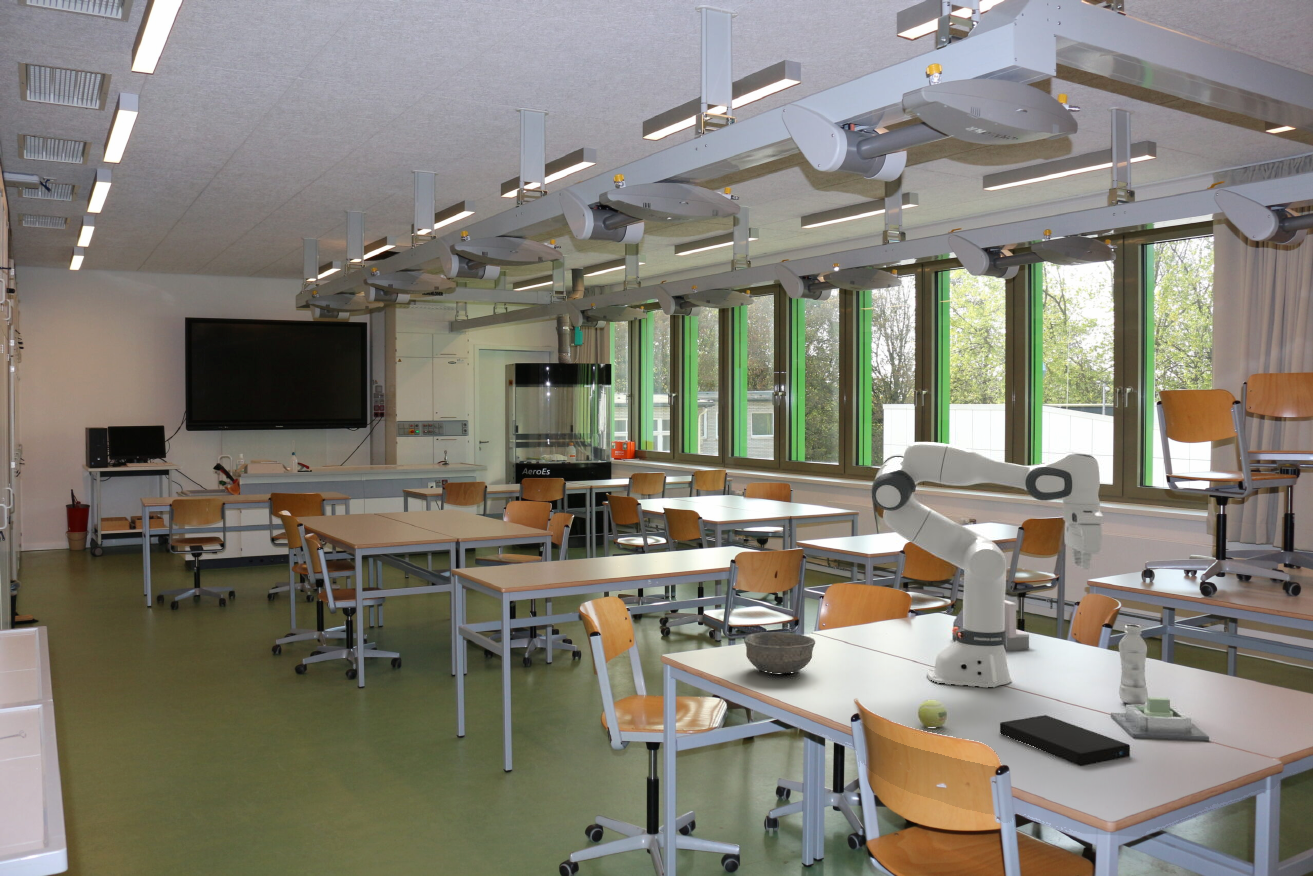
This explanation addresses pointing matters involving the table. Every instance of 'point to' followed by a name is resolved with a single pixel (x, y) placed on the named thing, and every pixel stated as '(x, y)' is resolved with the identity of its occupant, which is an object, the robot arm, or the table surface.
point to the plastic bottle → (1133, 666)
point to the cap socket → (1158, 724)
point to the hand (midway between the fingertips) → (1081, 567)
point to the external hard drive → (1065, 740)
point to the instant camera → (1014, 636)
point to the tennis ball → (932, 713)
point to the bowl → (779, 651)
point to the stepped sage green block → (1158, 707)
